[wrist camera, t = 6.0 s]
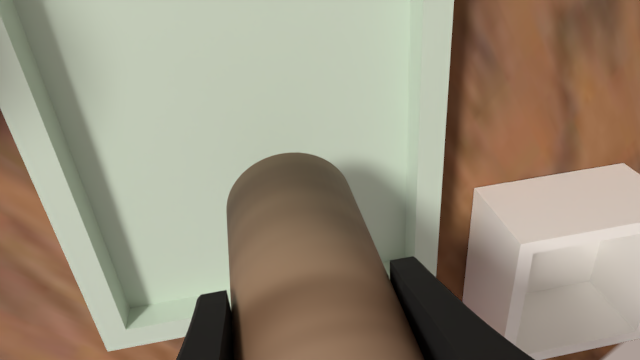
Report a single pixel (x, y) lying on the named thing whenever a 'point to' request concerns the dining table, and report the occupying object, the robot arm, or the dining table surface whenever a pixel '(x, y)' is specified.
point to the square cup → (557, 260)
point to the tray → (216, 131)
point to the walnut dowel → (308, 269)
